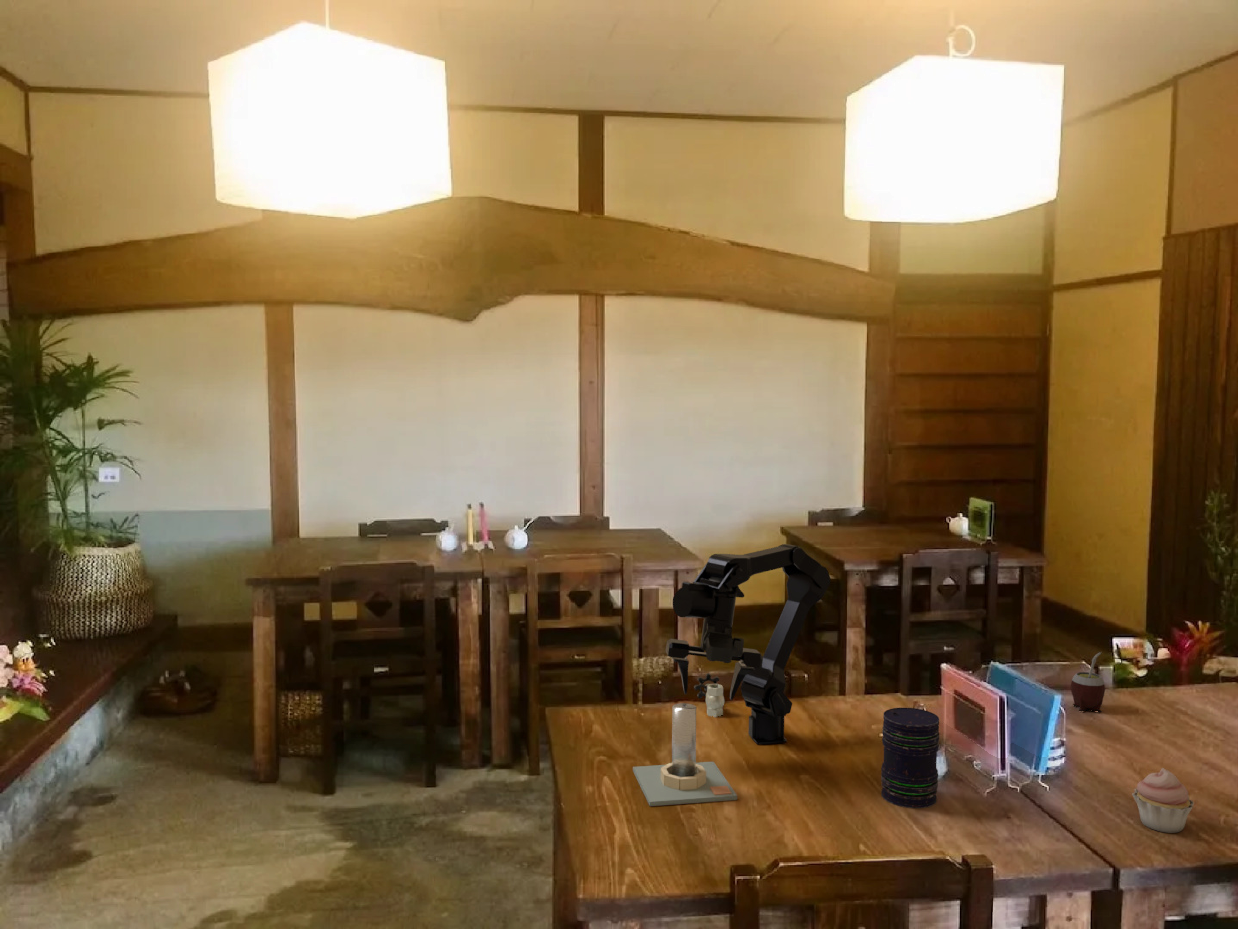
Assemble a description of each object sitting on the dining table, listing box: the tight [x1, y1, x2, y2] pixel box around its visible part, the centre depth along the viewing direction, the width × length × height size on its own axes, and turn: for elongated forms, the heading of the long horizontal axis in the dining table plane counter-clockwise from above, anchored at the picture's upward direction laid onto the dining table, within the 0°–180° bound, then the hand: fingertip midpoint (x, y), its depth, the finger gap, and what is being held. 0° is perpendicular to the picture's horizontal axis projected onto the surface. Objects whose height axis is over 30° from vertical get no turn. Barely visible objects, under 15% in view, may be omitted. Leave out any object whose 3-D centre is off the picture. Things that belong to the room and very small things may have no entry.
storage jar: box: [880, 707, 940, 809], centre depth 180 cm, size 10×10×15 cm
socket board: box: [632, 761, 738, 807], centre depth 185 cm, size 16×16×3 cm
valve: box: [693, 672, 725, 718], centre depth 228 cm, size 7×7×12 cm
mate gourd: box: [1070, 651, 1106, 713], centre depth 227 cm, size 8×8×15 cm
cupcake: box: [1131, 767, 1195, 834], centre depth 169 cm, size 9×9×10 cm
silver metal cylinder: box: [671, 702, 697, 777], centre depth 185 cm, size 4×4×14 cm
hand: (708, 696), depth 198 cm, fingers open, 9 cm apart
